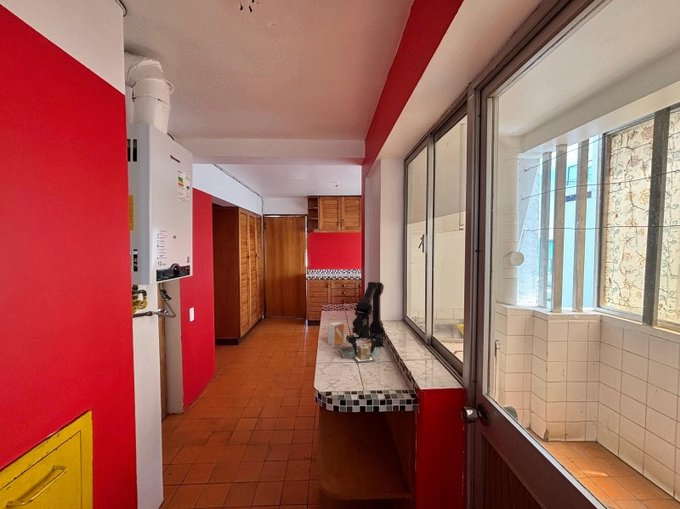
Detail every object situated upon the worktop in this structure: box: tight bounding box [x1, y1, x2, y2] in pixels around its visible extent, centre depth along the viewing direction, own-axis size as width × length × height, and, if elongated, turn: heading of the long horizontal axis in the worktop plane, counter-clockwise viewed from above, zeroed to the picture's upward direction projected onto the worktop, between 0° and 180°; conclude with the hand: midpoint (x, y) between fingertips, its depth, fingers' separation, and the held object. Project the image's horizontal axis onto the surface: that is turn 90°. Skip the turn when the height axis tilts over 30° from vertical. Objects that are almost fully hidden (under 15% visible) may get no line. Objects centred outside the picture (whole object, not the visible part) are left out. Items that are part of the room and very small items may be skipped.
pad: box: [352, 355, 376, 364], centre depth 165 cm, size 10×8×1 cm
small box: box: [327, 321, 345, 347], centre depth 193 cm, size 8×6×13 cm
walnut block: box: [357, 345, 371, 360], centre depth 165 cm, size 5×5×6 cm
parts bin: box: [337, 344, 380, 358], centre depth 177 cm, size 22×11×2 cm, turn 106°
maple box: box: [363, 342, 377, 350], centre depth 179 cm, size 5×7×4 cm
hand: (363, 353), depth 165 cm, fingers open, 9 cm apart
